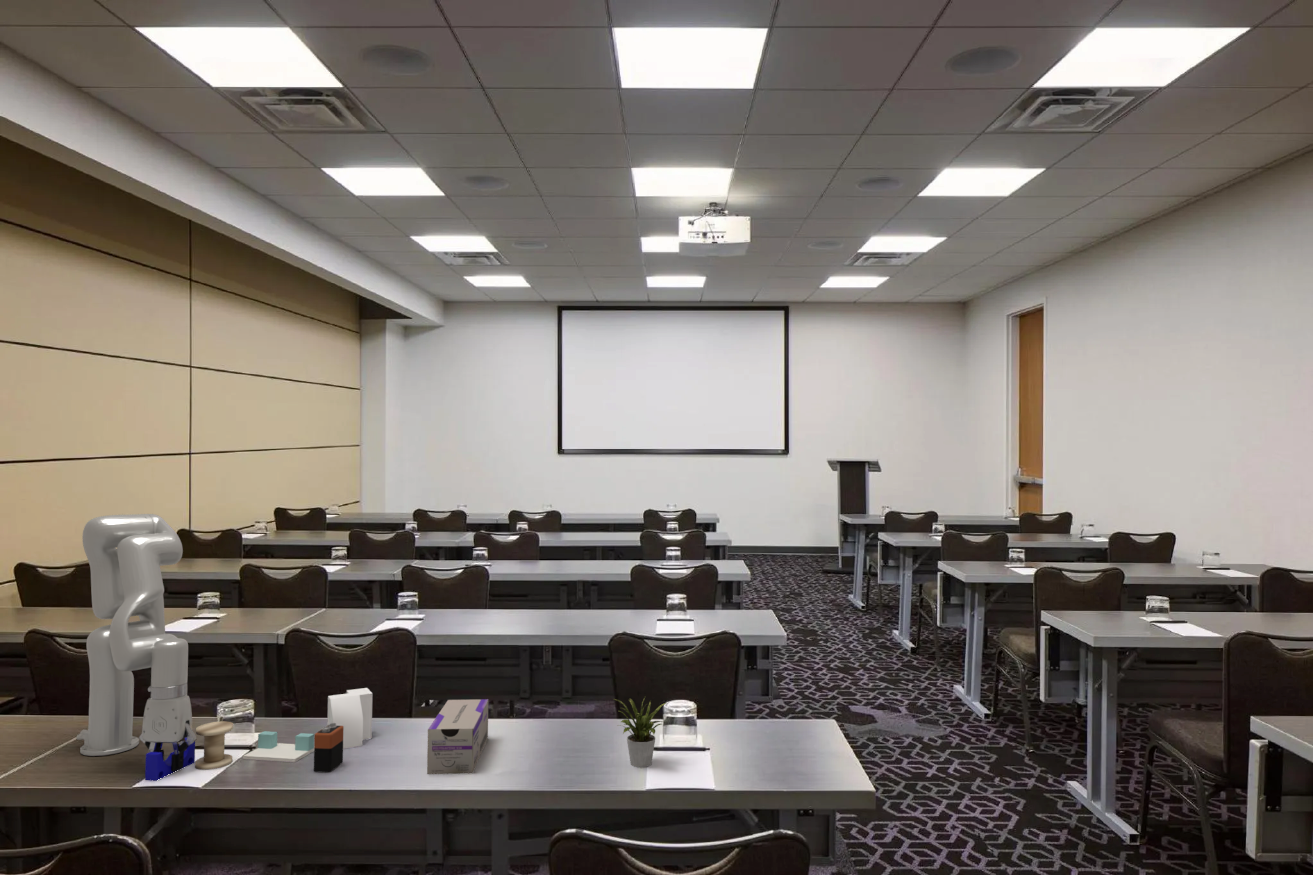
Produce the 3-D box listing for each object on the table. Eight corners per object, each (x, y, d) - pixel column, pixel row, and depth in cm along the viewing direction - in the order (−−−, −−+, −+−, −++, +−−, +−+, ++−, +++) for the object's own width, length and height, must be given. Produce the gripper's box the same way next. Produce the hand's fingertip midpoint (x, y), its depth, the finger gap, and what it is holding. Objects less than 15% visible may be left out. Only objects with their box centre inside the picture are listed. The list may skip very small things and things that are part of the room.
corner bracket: (366, 731, 223) (366, 687, 223) (375, 743, 213) (376, 697, 214) (324, 738, 217) (325, 693, 218) (332, 750, 208) (333, 703, 208)
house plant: (597, 769, 195) (597, 700, 196) (620, 750, 208) (620, 686, 209) (651, 777, 190) (652, 706, 191) (672, 758, 203) (672, 692, 203)
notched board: (243, 759, 201) (243, 741, 201) (268, 745, 211) (268, 728, 211) (295, 762, 199) (295, 744, 199) (317, 748, 209) (318, 731, 209)
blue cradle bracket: (178, 761, 199) (179, 736, 200) (194, 762, 199) (195, 737, 199) (139, 779, 188) (140, 753, 188) (156, 780, 187) (157, 754, 187)
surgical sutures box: (472, 774, 192) (473, 728, 193) (427, 775, 192) (427, 729, 192) (487, 739, 217) (488, 699, 218) (447, 740, 216) (448, 699, 217)
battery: (312, 772, 192) (313, 729, 193) (326, 762, 199) (327, 721, 200) (330, 772, 192) (331, 730, 193) (343, 762, 199) (344, 721, 199)
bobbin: (187, 768, 195) (188, 730, 195) (210, 757, 202) (211, 720, 203) (217, 770, 193) (218, 732, 194) (239, 758, 201) (240, 722, 202)
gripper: (125, 694, 191) (123, 773, 190) (189, 696, 189) (188, 776, 188) (149, 686, 199) (147, 762, 198) (212, 688, 196) (210, 765, 195)
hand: (167, 768), depth 193 cm, fingers closed on blue cradle bracket, 4 cm apart
